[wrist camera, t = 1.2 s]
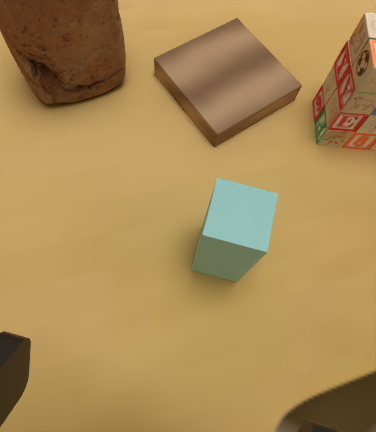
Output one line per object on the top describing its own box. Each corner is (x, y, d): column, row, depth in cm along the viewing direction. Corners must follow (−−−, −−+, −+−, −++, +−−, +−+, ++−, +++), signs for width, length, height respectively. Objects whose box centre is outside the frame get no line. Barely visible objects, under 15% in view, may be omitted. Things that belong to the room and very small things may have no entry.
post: (190, 270, 34) (202, 234, 24) (201, 227, 36) (217, 177, 26) (235, 282, 34) (267, 252, 24) (245, 239, 36) (278, 193, 25)
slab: (154, 77, 43) (154, 58, 40) (232, 38, 46) (237, 17, 43) (213, 149, 40) (217, 134, 37) (292, 102, 43) (302, 85, 40)
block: (108, 43, 44) (67, -188, 25) (134, 87, 41) (110, -129, 23) (21, 72, 41) (-96, -159, 23) (44, 121, 39) (-64, -90, 20)
